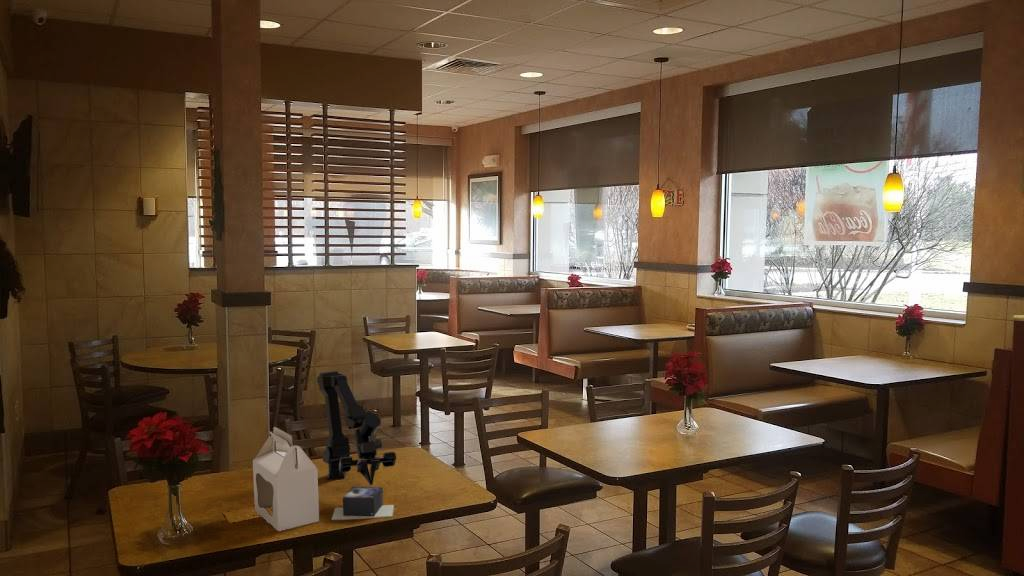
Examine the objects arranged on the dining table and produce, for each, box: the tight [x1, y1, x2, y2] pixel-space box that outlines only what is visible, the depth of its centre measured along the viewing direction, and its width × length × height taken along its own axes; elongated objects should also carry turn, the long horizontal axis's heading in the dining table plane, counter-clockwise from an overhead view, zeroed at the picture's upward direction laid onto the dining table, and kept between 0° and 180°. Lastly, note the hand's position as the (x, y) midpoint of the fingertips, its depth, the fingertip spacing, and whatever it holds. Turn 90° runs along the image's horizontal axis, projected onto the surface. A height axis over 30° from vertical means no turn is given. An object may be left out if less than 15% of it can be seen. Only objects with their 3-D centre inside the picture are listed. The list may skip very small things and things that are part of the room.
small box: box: [342, 486, 384, 516], centre depth 247 cm, size 11×6×10 cm
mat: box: [331, 504, 395, 521], centre depth 246 cm, size 10×19×1 cm, turn 96°
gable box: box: [252, 426, 320, 532], centre depth 243 cm, size 22×13×28 cm, turn 37°
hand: (371, 484), depth 252 cm, fingers closed
